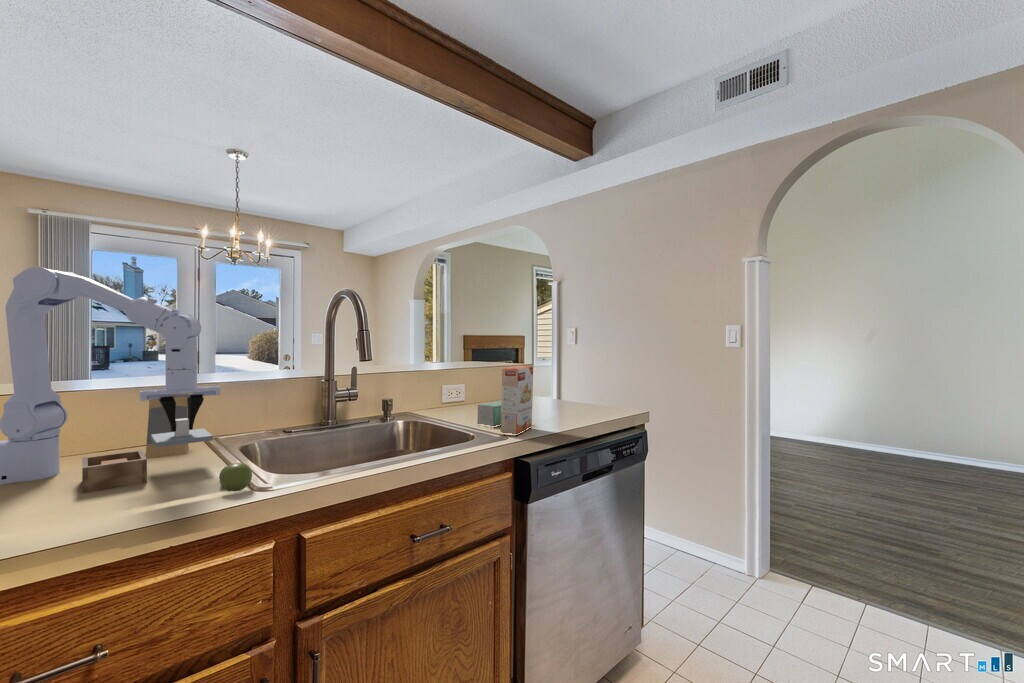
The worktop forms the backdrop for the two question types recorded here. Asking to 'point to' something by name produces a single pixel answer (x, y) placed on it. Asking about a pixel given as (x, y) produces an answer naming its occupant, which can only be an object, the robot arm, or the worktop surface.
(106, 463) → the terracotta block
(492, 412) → the box
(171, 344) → the robot arm
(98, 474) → the walnut box
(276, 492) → the worktop surface
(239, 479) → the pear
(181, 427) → the lid
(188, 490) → the worktop surface
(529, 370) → the cracker box
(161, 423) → the sandwich container
